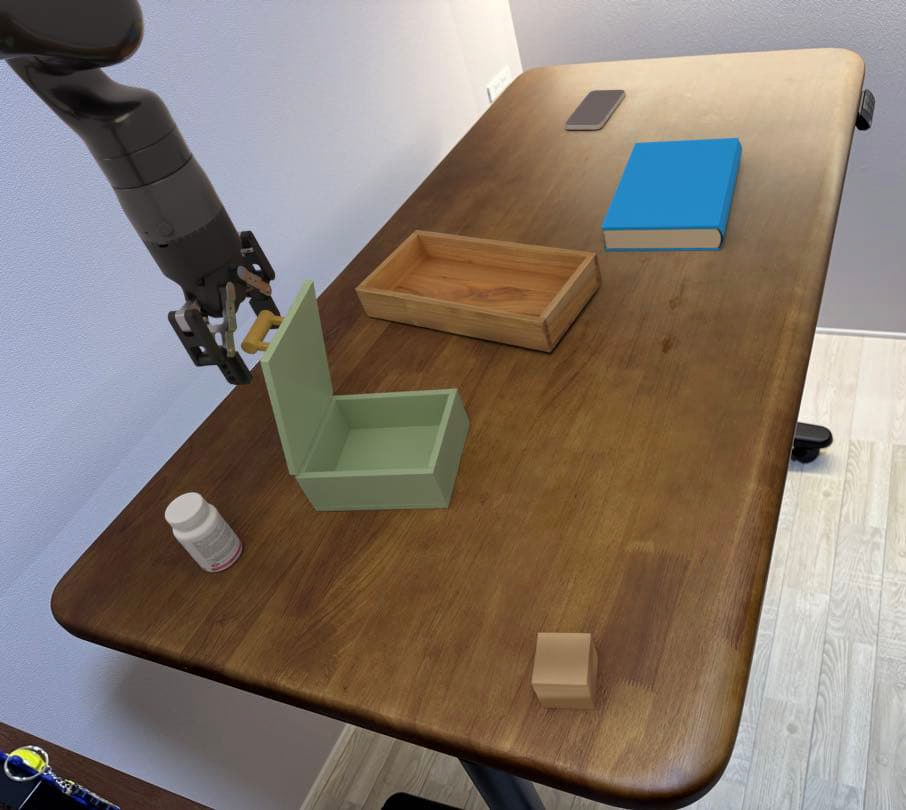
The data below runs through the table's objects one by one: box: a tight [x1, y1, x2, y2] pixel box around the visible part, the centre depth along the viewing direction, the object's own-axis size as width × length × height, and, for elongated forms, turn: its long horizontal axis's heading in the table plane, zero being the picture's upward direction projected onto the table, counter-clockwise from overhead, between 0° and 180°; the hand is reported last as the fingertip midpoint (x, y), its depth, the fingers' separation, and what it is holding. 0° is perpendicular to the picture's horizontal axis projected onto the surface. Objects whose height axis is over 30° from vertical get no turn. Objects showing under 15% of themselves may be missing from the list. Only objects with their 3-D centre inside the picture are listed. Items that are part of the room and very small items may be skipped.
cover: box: [240, 279, 334, 476], centre depth 81 cm, size 16×13×5 cm
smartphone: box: [564, 89, 626, 130], centre depth 146 cm, size 7×1×15 cm
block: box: [531, 632, 599, 711], centre depth 65 cm, size 4×4×4 cm
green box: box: [295, 388, 471, 512], centre depth 88 cm, size 16×13×6 cm
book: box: [600, 137, 743, 252], centre depth 117 cm, size 17×4×25 cm
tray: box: [354, 229, 602, 353], centre depth 107 cm, size 31×15×6 cm, turn 61°
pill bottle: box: [164, 491, 243, 573], centre depth 82 cm, size 5×5×8 cm
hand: (259, 353), depth 79 cm, fingers open, 8 cm apart
